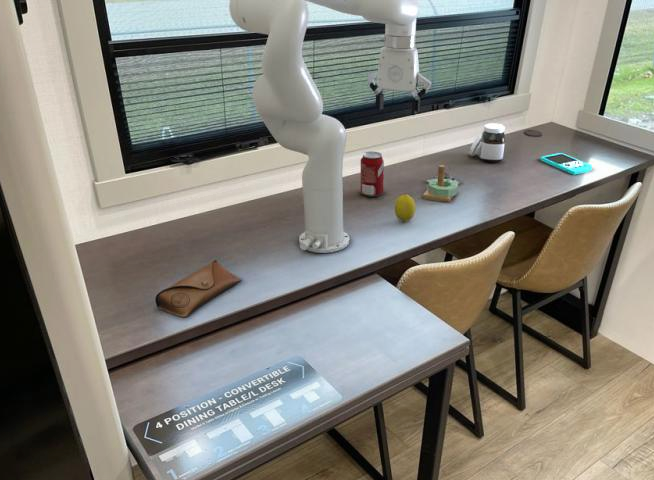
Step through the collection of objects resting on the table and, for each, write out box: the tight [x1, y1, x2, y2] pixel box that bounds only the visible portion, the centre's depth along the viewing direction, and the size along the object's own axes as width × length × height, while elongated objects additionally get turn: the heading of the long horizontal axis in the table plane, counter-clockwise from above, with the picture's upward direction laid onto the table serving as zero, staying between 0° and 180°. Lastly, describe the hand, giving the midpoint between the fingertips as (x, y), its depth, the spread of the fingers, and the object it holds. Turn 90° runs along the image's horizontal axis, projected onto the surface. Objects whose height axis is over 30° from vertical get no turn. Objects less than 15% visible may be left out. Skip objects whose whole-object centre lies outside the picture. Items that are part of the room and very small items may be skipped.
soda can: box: [360, 151, 385, 198], centre depth 176 cm, size 7×7×12 cm
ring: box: [427, 178, 459, 197], centre depth 178 cm, size 8×8×2 cm
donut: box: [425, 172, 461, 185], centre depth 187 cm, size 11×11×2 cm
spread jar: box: [468, 122, 506, 164], centre depth 204 cm, size 12×11×12 cm
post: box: [422, 164, 454, 203], centre depth 176 cm, size 8×8×9 cm
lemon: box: [394, 193, 416, 223], centre depth 161 cm, size 6×6×8 cm
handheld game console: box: [540, 152, 593, 176], centre depth 204 cm, size 10×16×1 cm, turn 30°
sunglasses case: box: [155, 259, 243, 318], centre depth 129 cm, size 18×7×7 cm
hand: (397, 111), depth 160 cm, fingers open, 9 cm apart
